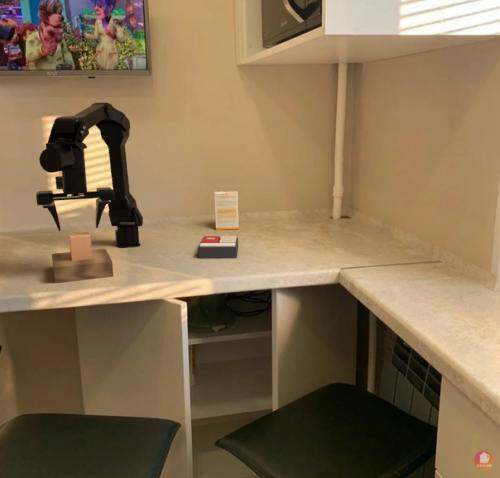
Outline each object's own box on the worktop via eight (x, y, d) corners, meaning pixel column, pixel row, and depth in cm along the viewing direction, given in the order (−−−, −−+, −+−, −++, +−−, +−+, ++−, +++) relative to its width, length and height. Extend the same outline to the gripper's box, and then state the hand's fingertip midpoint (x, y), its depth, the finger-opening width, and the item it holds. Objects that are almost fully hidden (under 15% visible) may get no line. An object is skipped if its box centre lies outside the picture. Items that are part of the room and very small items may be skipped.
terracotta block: (90, 254, 147) (88, 232, 145) (92, 258, 142) (90, 236, 141) (70, 256, 145) (68, 233, 144) (72, 260, 141) (69, 238, 139)
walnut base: (106, 262, 153) (105, 248, 152) (113, 276, 141) (112, 261, 140) (53, 268, 148) (51, 253, 148) (55, 283, 136) (53, 267, 135)
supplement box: (238, 226, 197) (237, 190, 194) (238, 229, 192) (238, 192, 189) (215, 227, 197) (214, 190, 194) (215, 230, 192) (214, 192, 189)
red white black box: (238, 234, 170) (236, 244, 156) (238, 248, 171) (236, 259, 156) (202, 235, 170) (197, 244, 156) (202, 248, 171) (198, 259, 156)
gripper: (107, 163, 149) (111, 220, 152) (33, 167, 142) (39, 226, 146) (113, 167, 139) (117, 228, 142) (33, 171, 132) (40, 234, 136)
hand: (78, 229), depth 142 cm, fingers open, 9 cm apart
